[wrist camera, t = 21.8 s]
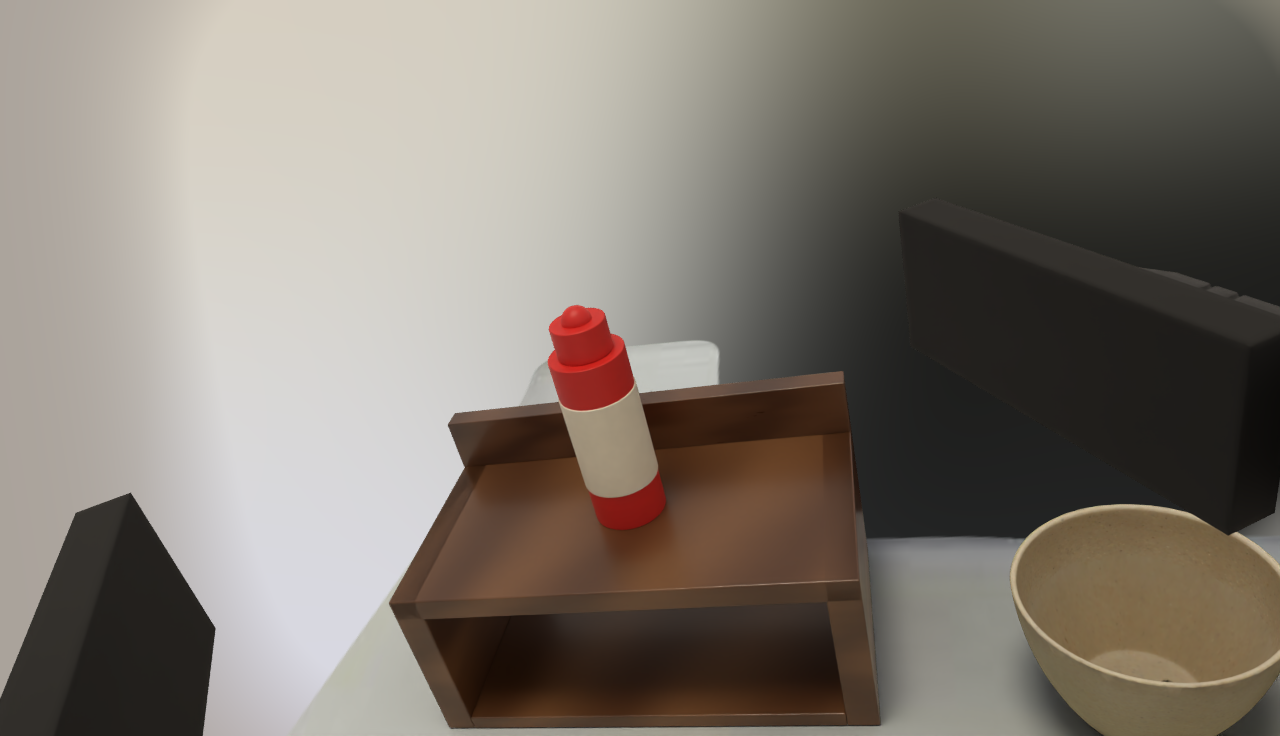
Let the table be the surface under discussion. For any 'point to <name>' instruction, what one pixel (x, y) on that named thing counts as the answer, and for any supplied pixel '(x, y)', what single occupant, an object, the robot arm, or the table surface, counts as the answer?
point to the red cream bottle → (605, 419)
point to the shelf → (653, 571)
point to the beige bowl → (1149, 618)
